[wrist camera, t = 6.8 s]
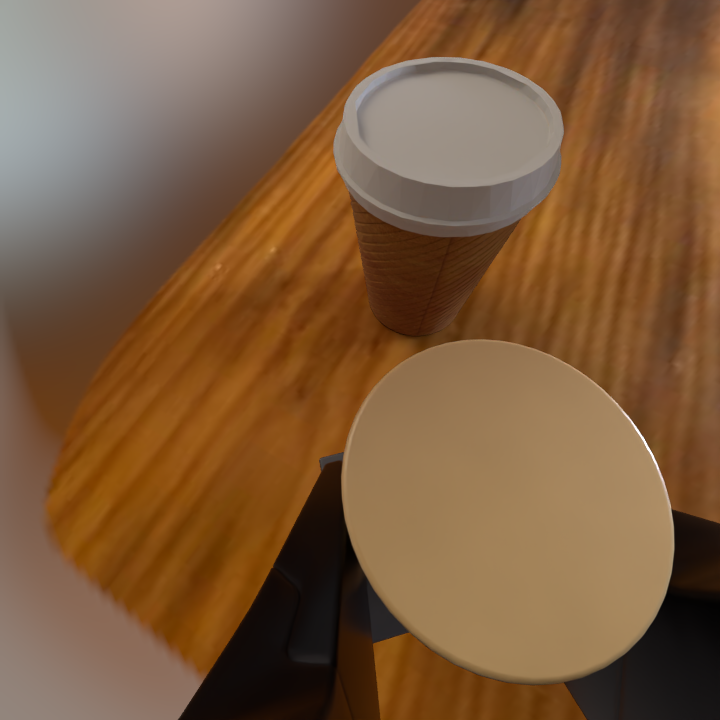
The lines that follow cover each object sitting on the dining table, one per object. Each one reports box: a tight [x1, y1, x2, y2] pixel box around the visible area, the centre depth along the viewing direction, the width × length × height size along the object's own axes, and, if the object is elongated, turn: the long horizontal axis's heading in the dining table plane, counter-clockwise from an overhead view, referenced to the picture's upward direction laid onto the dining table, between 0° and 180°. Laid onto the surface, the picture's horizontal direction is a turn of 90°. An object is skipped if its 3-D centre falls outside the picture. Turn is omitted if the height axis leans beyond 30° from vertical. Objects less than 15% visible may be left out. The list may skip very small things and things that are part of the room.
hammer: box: [319, 339, 674, 685], centre depth 8 cm, size 6×4×13 cm
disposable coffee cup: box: [334, 57, 564, 336], centre depth 20 cm, size 10×10×12 cm
